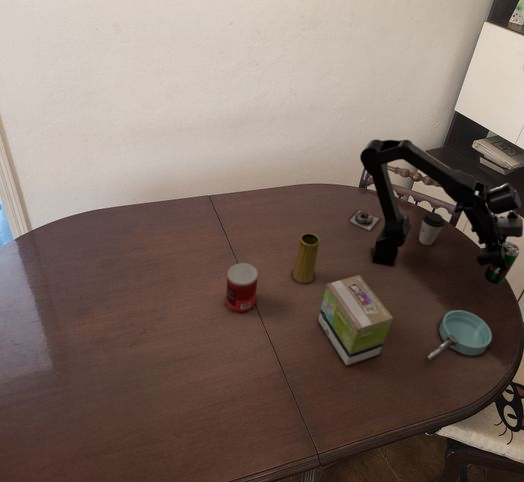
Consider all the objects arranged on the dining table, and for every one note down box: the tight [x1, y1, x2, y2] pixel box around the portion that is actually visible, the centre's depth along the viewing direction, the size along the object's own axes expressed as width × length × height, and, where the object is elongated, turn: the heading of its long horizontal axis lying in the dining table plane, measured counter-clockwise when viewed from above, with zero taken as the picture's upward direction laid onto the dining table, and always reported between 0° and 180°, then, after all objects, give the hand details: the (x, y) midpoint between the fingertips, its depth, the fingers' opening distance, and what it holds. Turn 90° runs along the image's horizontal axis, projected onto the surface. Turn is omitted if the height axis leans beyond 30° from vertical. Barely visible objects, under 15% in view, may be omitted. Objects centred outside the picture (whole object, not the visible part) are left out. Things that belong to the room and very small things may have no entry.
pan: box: [438, 309, 493, 356], centre depth 121 cm, size 12×12×4 cm
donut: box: [349, 210, 380, 231], centre depth 158 cm, size 8×8×2 cm
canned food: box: [225, 262, 259, 313], centre depth 121 cm, size 8×8×11 cm
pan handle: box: [425, 334, 458, 362], centre depth 114 cm, size 11×2×2 cm, turn 127°
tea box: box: [318, 274, 394, 366], centre depth 114 cm, size 15×10×15 cm
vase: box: [292, 232, 320, 284], centre depth 130 cm, size 6×6×14 cm
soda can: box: [483, 241, 520, 285], centre depth 126 cm, size 5×5×12 cm
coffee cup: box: [418, 212, 446, 246], centre depth 150 cm, size 7×7×10 cm
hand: (507, 264), depth 126 cm, fingers closed on soda can, 5 cm apart
